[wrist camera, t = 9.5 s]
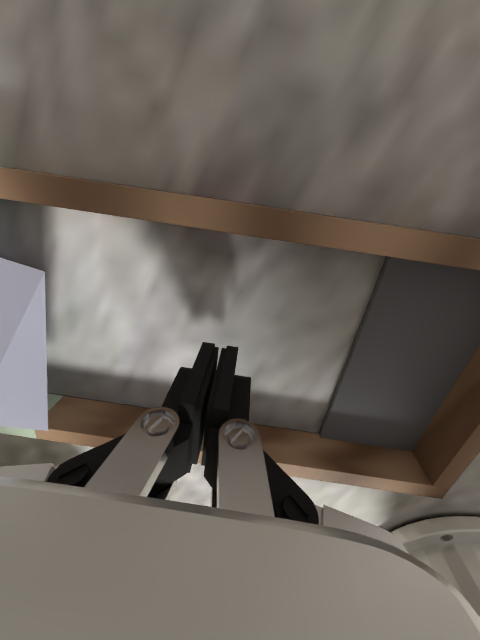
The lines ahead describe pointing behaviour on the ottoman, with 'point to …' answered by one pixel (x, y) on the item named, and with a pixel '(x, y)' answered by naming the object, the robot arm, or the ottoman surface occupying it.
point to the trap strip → (406, 354)
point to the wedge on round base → (23, 347)
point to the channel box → (300, 227)
